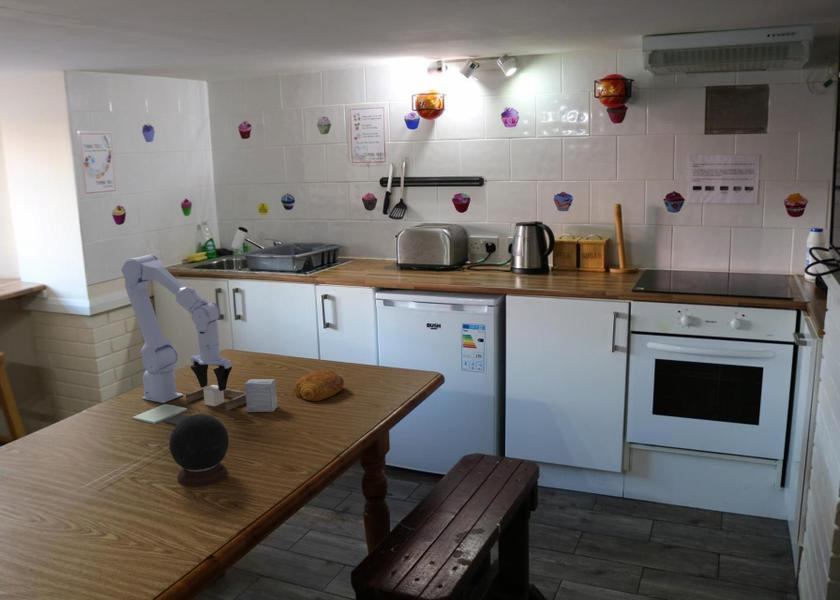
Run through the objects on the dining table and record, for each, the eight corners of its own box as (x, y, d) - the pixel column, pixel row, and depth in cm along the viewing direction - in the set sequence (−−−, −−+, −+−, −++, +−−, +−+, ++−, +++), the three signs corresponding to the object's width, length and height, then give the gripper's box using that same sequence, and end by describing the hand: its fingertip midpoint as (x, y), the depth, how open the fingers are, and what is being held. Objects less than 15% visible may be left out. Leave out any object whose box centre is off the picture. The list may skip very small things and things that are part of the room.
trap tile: (163, 422, 211) (163, 421, 211) (180, 415, 216) (180, 414, 216) (179, 425, 208) (178, 424, 208) (195, 418, 213) (195, 417, 213)
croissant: (352, 396, 234) (353, 371, 234) (319, 405, 221) (321, 378, 220) (316, 388, 242) (317, 364, 241) (282, 396, 229) (284, 370, 228)
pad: (132, 419, 215) (132, 417, 214) (165, 405, 225) (165, 403, 225) (154, 424, 210) (154, 422, 210) (187, 410, 220) (186, 408, 220)
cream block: (204, 404, 225) (203, 388, 224) (214, 400, 228) (213, 384, 227) (214, 406, 223) (213, 390, 222) (224, 402, 226) (222, 386, 225)
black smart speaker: (243, 469, 179) (238, 409, 176) (206, 493, 167) (200, 429, 164) (199, 461, 184) (193, 403, 181) (160, 483, 173) (153, 422, 170)
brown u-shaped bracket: (186, 402, 227) (185, 394, 227) (209, 392, 235) (209, 385, 235) (228, 410, 219) (227, 402, 218) (250, 400, 227) (250, 392, 226)
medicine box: (277, 407, 221) (275, 378, 219) (273, 412, 216) (271, 383, 214) (251, 406, 221) (249, 378, 220) (246, 412, 217) (244, 383, 215)
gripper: (181, 345, 222) (185, 388, 225) (217, 350, 215) (221, 395, 218) (198, 339, 228) (203, 382, 231) (234, 344, 221) (238, 388, 223)
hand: (213, 388), depth 224 cm, fingers open, 7 cm apart
